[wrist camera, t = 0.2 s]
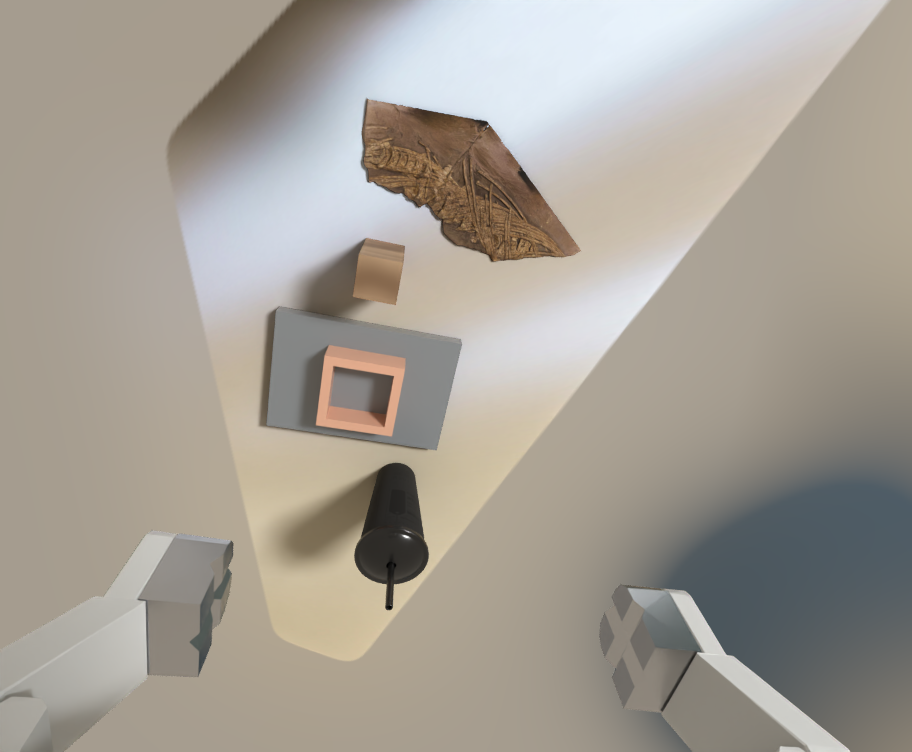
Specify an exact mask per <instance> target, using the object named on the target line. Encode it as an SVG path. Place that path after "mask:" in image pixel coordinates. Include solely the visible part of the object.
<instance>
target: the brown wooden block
mask: <svg viewBox="0 0 912 752" xmlns="http://www.w3.org/2000/svg"><path fill="white" fill-rule="evenodd" d="M404 250H405V246H403V245H398V244H393V243H388V242H383V241H378V240H373V239H369V238H366V240H365V242H364V244H363V246H362V248H361V250H360V253H359V256H358V263H357V270H356V277H355V284H354V291H353V297H356V298H361V299H367V300H372V301H377V302H383V303H388V304H393V305H396V301H397V295H398V290H399V284H400V279H401V273H402V267H403V261H404Z"/></svg>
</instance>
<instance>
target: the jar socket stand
mask: <svg viewBox="0 0 912 752" xmlns="http://www.w3.org/2000/svg"><path fill="white" fill-rule="evenodd" d="M461 346H462V342H461V339H456V338H450V337H445V336H439V335H434V334H428V333H423V332H417V331H412V330H406V329H401V328H395V327H390V326H384V325H379V324H373V323H368V322H362V321H357V320H351V319H346V318H340V317H335V316H329V315H324V314H318V313H313V312H307V311H302V310H296V309H290V308H285V307H279V308H278V309H277V310H276V317H275V329H274V341H273V353H272V365H271V377H270V389H269V401H268V413H267V425H268V426H275V427H281V428H288V429H295V430H302V431H309V432H316V433H322V434H329V435H336V436H343V437H350V438H356V439H363V440H370V441H377V442H384V443H391V444H397V445H404V446H411V447H418V448H425V449H432V450H437V446H438V442H439V438H440V434H441V430H442V426H443V421H444V417H445V413H446V409H447V405H448V400H449V396H450V392H451V388H452V384H453V379H454V375H455V371H456V367H457V363H458V358H459V354H460V350H461Z"/></svg>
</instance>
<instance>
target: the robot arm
mask: <svg viewBox="0 0 912 752" xmlns="http://www.w3.org/2000/svg"><path fill="white" fill-rule="evenodd" d="M232 557H233V542H232V541H229V540H222V539H215V538H208V537H201V536H192V535H186V534H174V533H167V532H160V531H153V530H151V531H150V532H149V533H147V534H146V535H145V536H144V537H143V539H142V540H141V542H140V543H139V544H138V546H137V547H136V549H135V550H134V552H133V553H132V555H131V556H130V558H129V559H128V561H127V562H126V564H125V565H124V567H123V568H122V569H121V571H120V572H119V574H118V575H117V577H116V578H115V580H114V581H113V583H112V584H111V586H110V587H109V589H108V590H107V592H106V593H105V595H104V596H103V597H96V596H94V597H92V598H90V599H88V600H87V601H85V602H83V603H81V604H79V605H78V606H76V607H74V608H72V609H71V610H69V611H67V612H66V613H64V614H62V615H60V616H59V617H57V618H55V619H53V620H52V621H50V622H48V623H46V624H44V625H43V626H41V627H39V628H37V629H36V630H34V631H32V632H30V633H29V634H27V635H25V636H24V637H22V638H20V639H18V640H16V641H15V642H13V643H11V644H9V645H8V646H6V647H4V648H2V649H1V650H0V752H64V751H65V750H66V749H68V748H69V747H70V746H71V745H72V744H73V743H74V742H75V741H76V740H78V739H79V738H80V737H81V736H82V735H83V734H84V733H86V732H87V731H88V730H89V729H90V728H91V727H92V726H93V725H95V724H96V723H97V722H98V721H99V720H100V719H101V718H102V717H104V716H105V715H106V714H107V713H108V712H109V711H110V710H112V709H113V708H114V707H115V706H116V705H117V704H118V703H120V702H121V701H122V700H123V699H124V698H125V697H126V696H128V695H129V694H130V693H131V692H132V691H133V690H134V689H135V688H137V687H138V686H139V685H140V684H141V683H142V682H143V681H145V680H146V679H147V675H161V676H183V677H198V676H199V674H200V671H201V669H202V666H203V664H204V662H205V659H206V657H207V654H208V652H209V649H210V646H211V642H212V629H213V628H215V627H216V626H217V625H219V624H220V622H221V619H222V616H223V614H224V611H225V608H226V604H227V600H228V597H229V593H230V587H231V579H232V573H231V571H230V570H229V569H228V567H229V564H230V562H231V559H232ZM612 599H613V602H614V606H613V607H611V608H610V609H608V610H607V611H605V613H604V615H603V618H602V620H601V623H600V634H599V635H600V636H599V637H600V644H601V648H602V651H603V654H604V657H605V658H606V660H607V661H608V662H609V663H610V664H611V665H612V666H613V667H614V668H615V671H614V674H613V676H612V679H613V682H614V684H615V687H616V690H617V692H618V695H619V698H620V700H621V703H622V706H623V708H624V709H632V710H642V711H651V712H661V713H662V716H663V717H664V718H665V719H666V721H667V722H668V723H669V724H670V726H671V727H672V728H673V729H674V730H675V731H676V733H677V734H678V735H679V736H680V737H681V739H682V740H683V741H684V742H685V743H686V745H687V746H688V747H689V748H690V749H691V750H692V752H850V751H849V749H847V748H846V747H845V746H844V745H842V744H841V743H840V742H839V741H838V740H836V739H835V738H834V737H833V736H831V735H830V734H829V733H828V732H826V731H825V730H824V729H822V728H821V727H820V726H819V725H818V724H816V723H815V722H814V721H813V720H811V719H810V718H809V717H808V716H807V715H805V714H804V713H803V712H802V711H800V710H799V709H798V708H797V707H795V706H794V705H793V704H792V703H791V702H789V701H788V700H787V699H786V698H784V697H783V696H782V695H781V694H779V693H778V692H777V691H776V690H774V689H773V688H772V687H771V686H769V685H768V684H767V683H766V682H765V681H763V680H762V679H761V678H760V677H758V676H757V675H756V674H754V673H753V672H752V671H751V670H750V669H748V668H747V667H746V666H745V665H743V664H742V663H741V662H740V661H739V660H737V659H736V658H735V657H733V656H728V655H726V654H725V652H724V650H723V649H722V647H721V645H720V644H719V642H718V640H717V639H716V637H715V636H714V634H713V632H712V631H711V629H710V627H709V626H708V624H707V622H706V621H705V619H704V618H703V616H702V614H701V612H700V611H699V609H698V607H697V606H696V604H695V603H694V601H693V599H692V598H691V596H690V595H689V594H688V593H687V592H685V591H681V590H671V589H660V588H650V587H640V586H631V585H619V586H618V587H617V588H616V589H615V591H614V593H613V595H612Z"/></svg>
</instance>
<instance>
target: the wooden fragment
mask: <svg viewBox="0 0 912 752" xmlns="http://www.w3.org/2000/svg"><path fill="white" fill-rule="evenodd" d="M488 125H489V124H488V122H487V121H482V120H474V119H470V118H463V117H458V116H454V115H449V114H443V113H438V112H432V111H427V110H422V109H418V108H412V107H405V106H403V105H399V106H398V105H396V104H390V103H385V102H378V101H373V100H368V99H367V105H366V113H365V120H364V124H363V128H362V138H363V141H364V143H365V156H364V165H365V166H366V168H368V174H369V182H375V183H377V184H378V185H379V186H380V185H382V186H384V187H387V188H388V189H389V190H391V191H393V192H397V193H404V194H405V196H408V198H409V199H411V200H413V201H414V202H415V203H416V204H417V205H418V206H419V207H421V206H423V205H424V204H426V203H427V204H428V205H429V206H430V208H431V209H432V210H433V212H434V214H435V215H436V216H438V217H439V218H440V219H442V223H443V229H444V234H445V235H446V236H447V237H448V238H449V239H450V240H451V241H453V242H454V243H455V244H456V245H463V246H467V247H468V248H473V249H476V250H481V252H483V253H487V254H488V255H489V256H490V258H491V260H492V261H499V260H501V261H504V260H507V259H514V260H518V259H523V258H524V257H533V258H536V257H543V256H550V255H553V256H555V257H566V256H571V255H575V254H576V253H578V252H580V251H581V250H580V249H579V247H578V246H577V245H576V243H575V242H574V240H573V239H572V238H571V236H570V235H569V233H568V232H567V231H566V229H565V228H564V226H563V225H562V224H561V222H560V221H559V220H558V218H557V217H556V215H555V214H554V213H553V211H552V210H551V208H550V207H549V206H548V204H547V203H546V201H545V200H544V199H543V197H542V196H541V194H540V193H539V191H538V190H537V189H536V187H535V186H534V185H533V183H532V182H531V181H530V179H529V178H528V176H527V175H526V173H525V172H524V171H523V169H522V168H521V166H520V165H519V164H518V162H517V161H516V160H515V158H514V157H513V156H512V154H511V153H510V151H509V150H508V149H507V148H506V147H505V145H504V144H503V142H501V139H500V138H499V136H498V135H497V134H496V132H495V131H494V130H493V128H492V127H491V126H490V125H489V127H488V128H487V129H486V130H485V131H483V130H484V129H485V128H486V127H487V126H488Z"/></svg>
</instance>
